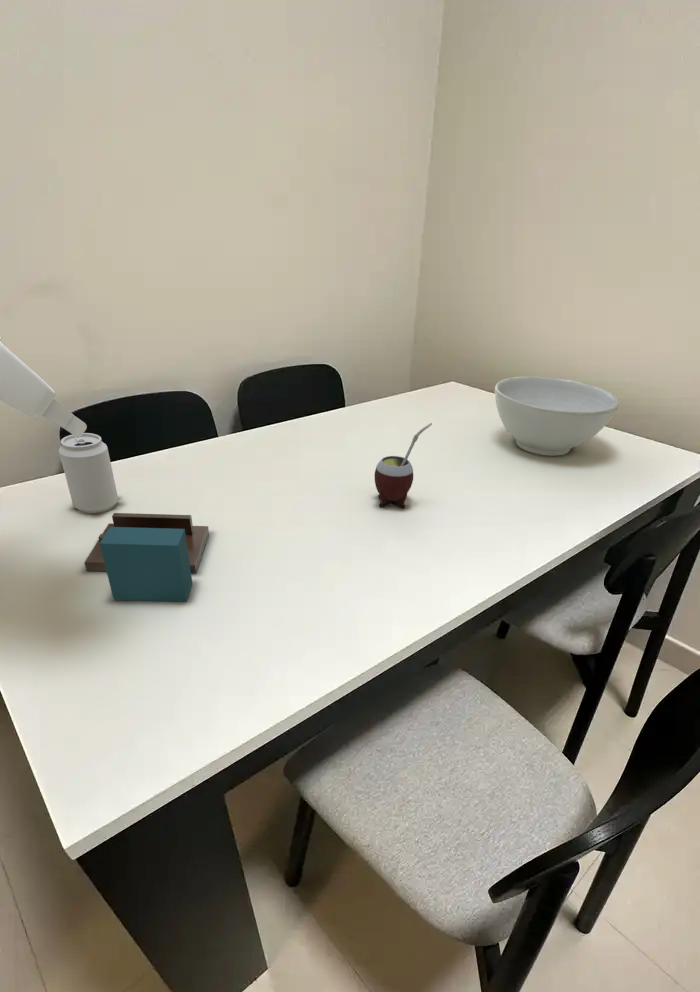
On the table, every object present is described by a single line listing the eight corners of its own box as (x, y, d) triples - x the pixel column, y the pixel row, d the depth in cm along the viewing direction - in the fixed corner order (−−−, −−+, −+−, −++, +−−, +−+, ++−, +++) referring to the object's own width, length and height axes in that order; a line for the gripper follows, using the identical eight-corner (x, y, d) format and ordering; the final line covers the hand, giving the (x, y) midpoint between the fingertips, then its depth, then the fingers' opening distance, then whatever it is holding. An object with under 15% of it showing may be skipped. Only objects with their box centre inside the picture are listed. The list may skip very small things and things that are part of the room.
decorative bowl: (477, 423, 147) (487, 372, 139) (583, 429, 147) (598, 379, 139) (494, 464, 125) (506, 407, 118) (618, 472, 125) (638, 416, 118)
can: (81, 519, 98) (63, 450, 91) (68, 502, 102) (50, 435, 95) (125, 508, 101) (111, 441, 94) (111, 492, 106) (96, 427, 99)
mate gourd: (364, 501, 108) (370, 420, 99) (392, 489, 113) (400, 411, 104) (394, 515, 104) (403, 432, 95) (422, 502, 109) (433, 423, 100)
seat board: (86, 570, 86) (79, 544, 83) (110, 531, 95) (104, 506, 92) (196, 573, 86) (192, 547, 84) (209, 534, 96) (206, 509, 93)
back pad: (113, 600, 80) (99, 543, 75) (122, 582, 84) (109, 526, 78) (186, 601, 81) (178, 545, 75) (192, 583, 84) (184, 528, 79)
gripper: (-64, 358, 68) (50, 435, 76) (-71, 368, 52) (73, 463, 61) (-32, 313, 67) (78, 396, 76) (-30, 310, 52) (108, 414, 61)
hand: (76, 426), depth 68 cm, fingers open, 8 cm apart
